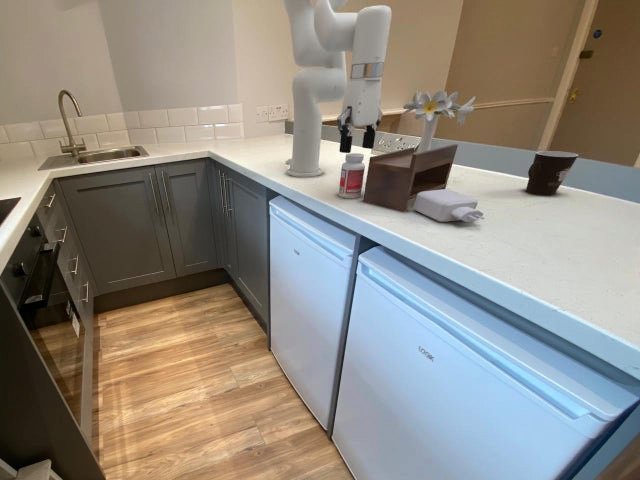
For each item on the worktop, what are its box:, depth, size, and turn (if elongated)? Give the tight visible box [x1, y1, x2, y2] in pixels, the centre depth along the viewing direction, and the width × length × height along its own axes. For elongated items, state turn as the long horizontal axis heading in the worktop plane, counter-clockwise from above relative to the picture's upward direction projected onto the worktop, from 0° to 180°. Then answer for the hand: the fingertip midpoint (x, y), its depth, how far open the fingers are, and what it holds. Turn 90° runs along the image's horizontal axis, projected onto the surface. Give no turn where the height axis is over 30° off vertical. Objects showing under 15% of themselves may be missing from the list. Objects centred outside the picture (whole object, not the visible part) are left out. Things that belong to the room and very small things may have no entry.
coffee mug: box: [525, 150, 579, 197], centre depth 91 cm, size 12×9×10 cm
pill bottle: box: [338, 152, 366, 199], centre depth 95 cm, size 6×6×11 cm
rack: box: [362, 143, 459, 212], centre depth 90 cm, size 12×20×13 cm, turn 127°
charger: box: [413, 188, 485, 223], centre depth 78 cm, size 5×9×15 cm
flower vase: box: [400, 90, 476, 153], centre depth 101 cm, size 13×18×25 cm
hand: (356, 150), depth 91 cm, fingers open, 9 cm apart
